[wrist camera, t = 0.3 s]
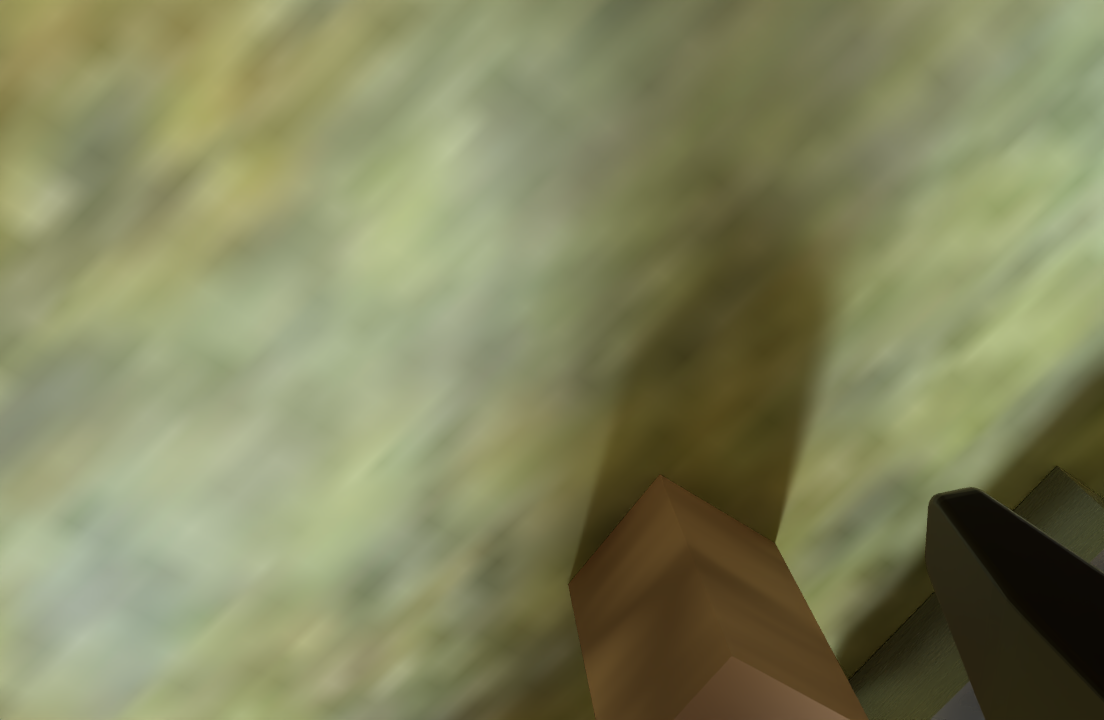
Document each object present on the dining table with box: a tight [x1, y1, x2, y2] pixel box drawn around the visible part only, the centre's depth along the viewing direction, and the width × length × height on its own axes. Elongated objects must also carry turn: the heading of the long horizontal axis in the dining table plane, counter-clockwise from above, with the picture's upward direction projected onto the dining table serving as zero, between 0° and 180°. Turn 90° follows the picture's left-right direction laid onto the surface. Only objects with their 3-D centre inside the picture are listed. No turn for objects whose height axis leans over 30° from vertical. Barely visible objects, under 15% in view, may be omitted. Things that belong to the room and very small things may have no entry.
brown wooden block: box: [568, 475, 869, 720], centre depth 25 cm, size 4×4×7 cm
